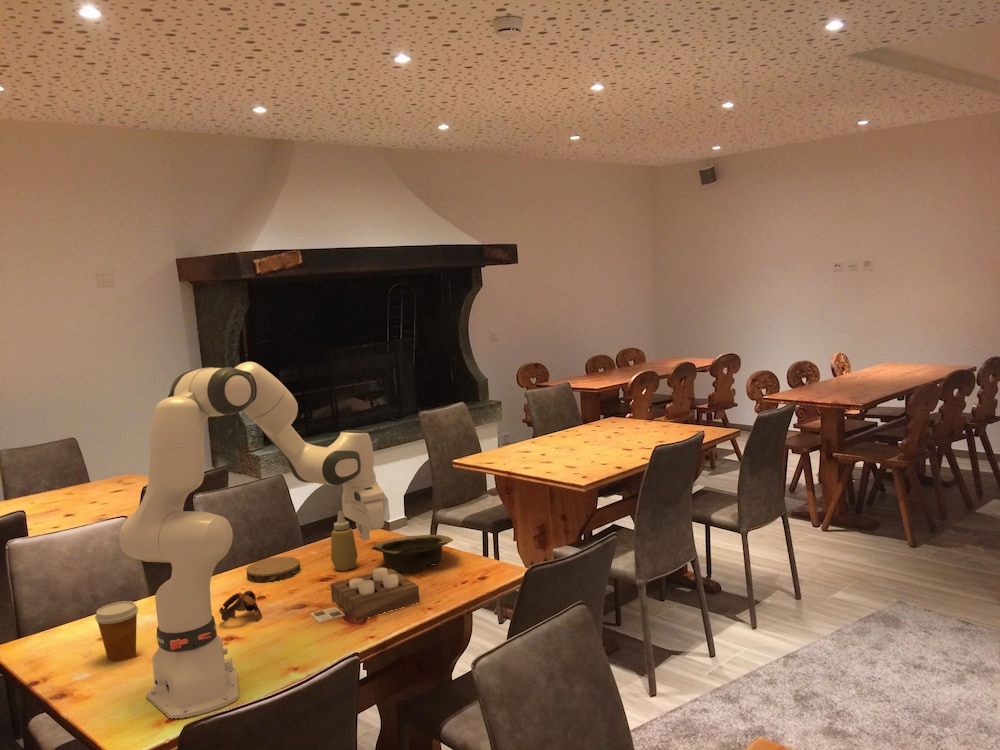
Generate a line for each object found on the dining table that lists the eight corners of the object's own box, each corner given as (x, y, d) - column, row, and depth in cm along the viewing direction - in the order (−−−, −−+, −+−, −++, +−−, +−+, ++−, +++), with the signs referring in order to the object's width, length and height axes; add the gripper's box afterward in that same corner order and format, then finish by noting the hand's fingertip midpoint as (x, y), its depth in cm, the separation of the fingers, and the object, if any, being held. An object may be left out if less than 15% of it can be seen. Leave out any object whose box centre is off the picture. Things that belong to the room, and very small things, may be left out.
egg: (367, 598, 222) (366, 580, 222) (353, 602, 220) (352, 584, 220) (362, 594, 226) (360, 576, 225) (348, 598, 224) (346, 580, 223)
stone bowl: (405, 583, 234) (400, 552, 234) (359, 572, 253) (355, 542, 253) (471, 559, 250) (467, 530, 250) (424, 550, 269) (420, 522, 269)
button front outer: (401, 594, 220) (400, 576, 219) (388, 598, 218) (386, 580, 217) (395, 590, 223) (394, 572, 223) (382, 594, 221) (380, 576, 221)
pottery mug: (258, 627, 211) (239, 604, 209) (230, 642, 213) (210, 620, 211) (271, 599, 223) (253, 577, 220) (244, 613, 225) (225, 592, 222)
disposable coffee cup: (115, 667, 192) (109, 618, 191) (92, 660, 197) (86, 612, 196) (151, 651, 200) (146, 603, 199) (127, 644, 205) (122, 598, 204)
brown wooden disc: (254, 588, 241) (253, 578, 241) (241, 573, 255) (240, 564, 254) (307, 575, 249) (306, 566, 248) (292, 562, 262) (291, 553, 262)
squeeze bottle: (356, 571, 248) (350, 514, 246) (329, 573, 248) (324, 515, 246) (360, 563, 256) (355, 506, 254) (335, 564, 256) (329, 508, 254)
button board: (419, 603, 219) (418, 585, 218) (356, 621, 210) (354, 602, 209) (392, 585, 234) (390, 568, 234) (332, 601, 225) (330, 583, 224)
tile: (345, 615, 214) (344, 614, 214) (319, 623, 210) (319, 621, 210) (335, 608, 220) (335, 606, 220) (310, 614, 216) (310, 613, 216)
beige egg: (391, 587, 226) (389, 570, 225) (377, 591, 224) (376, 573, 223) (385, 583, 229) (383, 566, 229) (371, 587, 227) (370, 569, 227)
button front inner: (377, 601, 216) (375, 583, 216) (363, 605, 214) (361, 586, 214) (371, 597, 220) (370, 579, 219) (357, 600, 218) (356, 582, 217)
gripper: (334, 484, 227) (339, 533, 228) (364, 498, 209) (368, 550, 211) (355, 480, 230) (360, 528, 231) (386, 493, 213) (391, 544, 214)
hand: (364, 538), depth 221 cm, fingers closed
